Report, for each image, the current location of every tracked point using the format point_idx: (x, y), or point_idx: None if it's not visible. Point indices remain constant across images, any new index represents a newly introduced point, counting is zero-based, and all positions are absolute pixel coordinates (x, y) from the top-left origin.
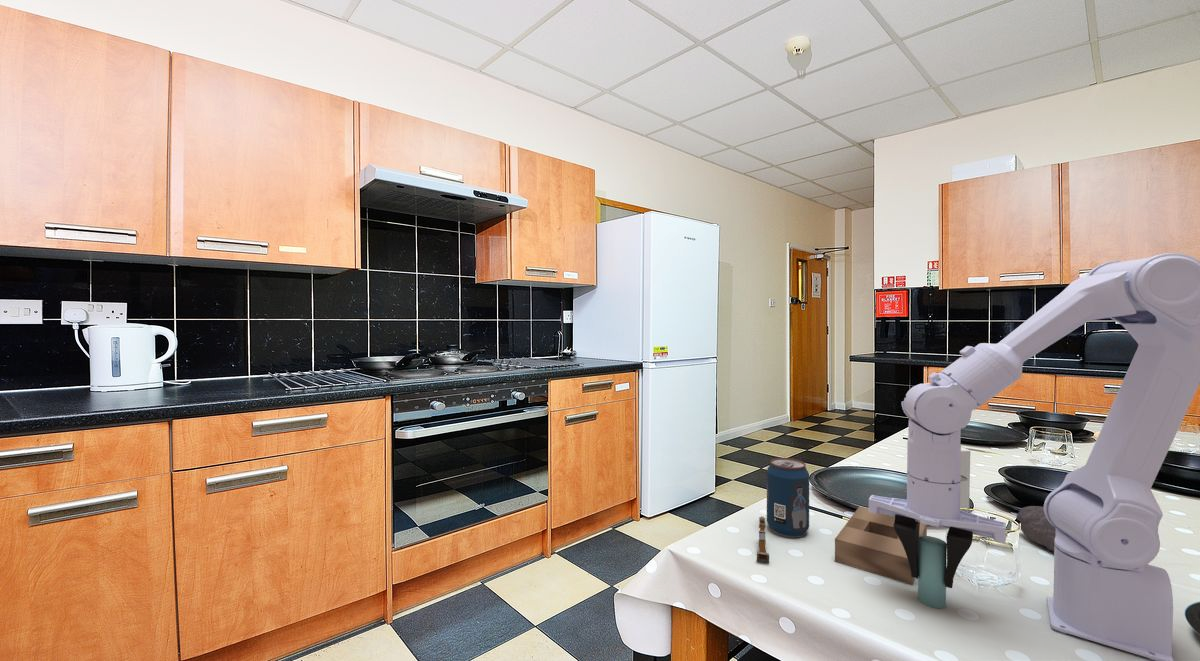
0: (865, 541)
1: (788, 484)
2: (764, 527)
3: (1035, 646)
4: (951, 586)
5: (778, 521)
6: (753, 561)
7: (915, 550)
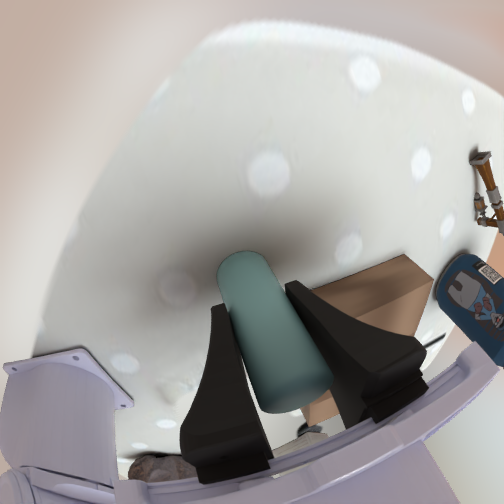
0: (391, 318)
1: None
2: (500, 216)
3: (64, 283)
4: (211, 310)
5: (479, 262)
6: (480, 147)
7: (326, 333)
